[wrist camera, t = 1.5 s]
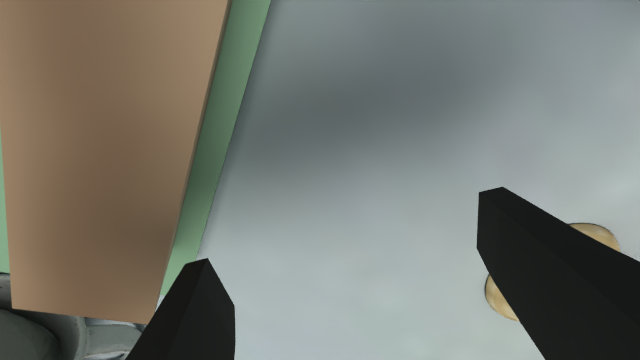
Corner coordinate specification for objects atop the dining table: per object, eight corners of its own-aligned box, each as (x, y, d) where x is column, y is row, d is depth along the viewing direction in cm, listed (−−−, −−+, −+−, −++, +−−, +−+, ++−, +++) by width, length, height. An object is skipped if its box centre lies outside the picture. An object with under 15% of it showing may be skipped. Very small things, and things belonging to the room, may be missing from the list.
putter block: (252, -80, 10) (246, -79, 7) (172, 249, 16) (151, 325, 13) (76, -160, 8) (-21, -198, 6) (62, 230, 14) (12, 308, 12)
